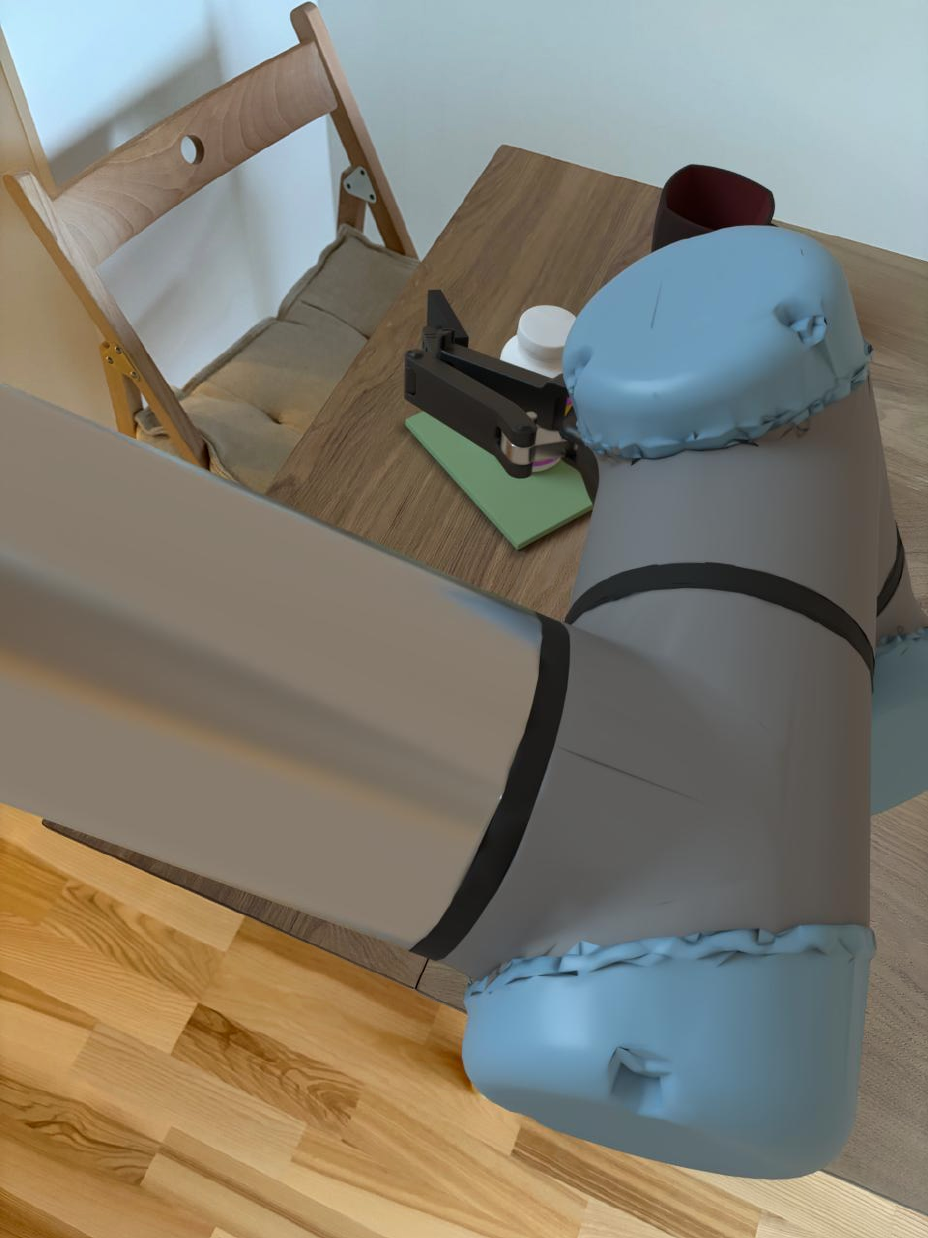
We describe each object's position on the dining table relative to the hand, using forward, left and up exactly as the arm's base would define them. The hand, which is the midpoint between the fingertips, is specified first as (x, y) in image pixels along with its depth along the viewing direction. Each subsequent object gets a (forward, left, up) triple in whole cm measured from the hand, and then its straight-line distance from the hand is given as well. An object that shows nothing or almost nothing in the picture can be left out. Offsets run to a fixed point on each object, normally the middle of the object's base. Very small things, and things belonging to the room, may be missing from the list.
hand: (543, 306), depth 57 cm
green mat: (-6, +7, -23) cm, 25 cm away
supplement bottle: (-6, +7, -22) cm, 24 cm away
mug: (-11, +33, -23) cm, 42 cm away
